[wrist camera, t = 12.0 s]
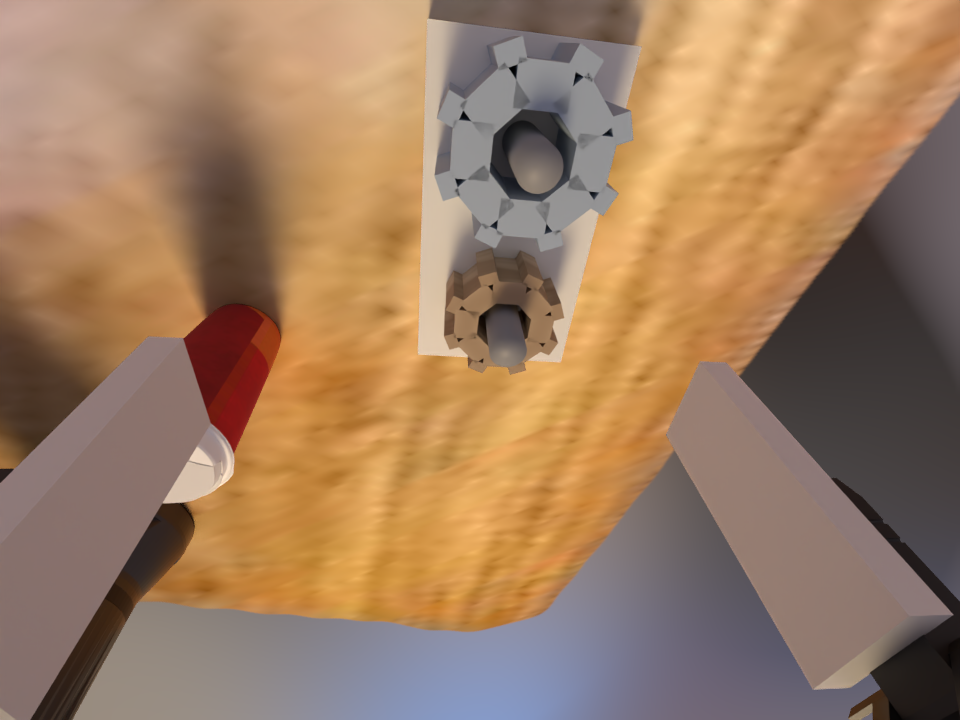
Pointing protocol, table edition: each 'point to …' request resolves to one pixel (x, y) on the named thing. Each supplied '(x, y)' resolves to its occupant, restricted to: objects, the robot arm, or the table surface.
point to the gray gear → (580, 141)
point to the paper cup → (225, 390)
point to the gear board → (516, 154)
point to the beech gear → (502, 286)
